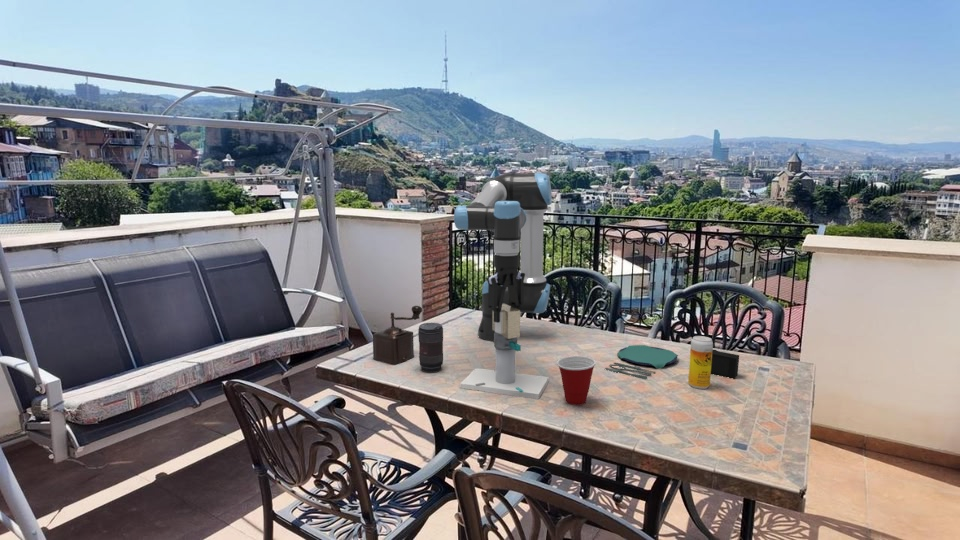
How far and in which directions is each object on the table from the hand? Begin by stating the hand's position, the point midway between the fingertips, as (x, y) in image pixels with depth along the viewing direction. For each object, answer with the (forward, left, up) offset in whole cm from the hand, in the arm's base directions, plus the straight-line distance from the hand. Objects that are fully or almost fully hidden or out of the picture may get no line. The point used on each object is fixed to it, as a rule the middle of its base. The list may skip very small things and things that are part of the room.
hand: (505, 330), depth 157 cm
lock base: (0, 0, -17) cm, 17 cm away
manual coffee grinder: (-13, -43, -17) cm, 48 cm away
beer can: (-19, +56, -17) cm, 62 cm away
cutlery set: (-35, +39, -18) cm, 55 cm away
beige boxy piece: (+1, +1, -5) cm, 5 cm away
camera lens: (-5, -27, -17) cm, 33 cm away
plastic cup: (+5, +22, -17) cm, 29 cm away
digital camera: (-33, +63, -18) cm, 73 cm away
